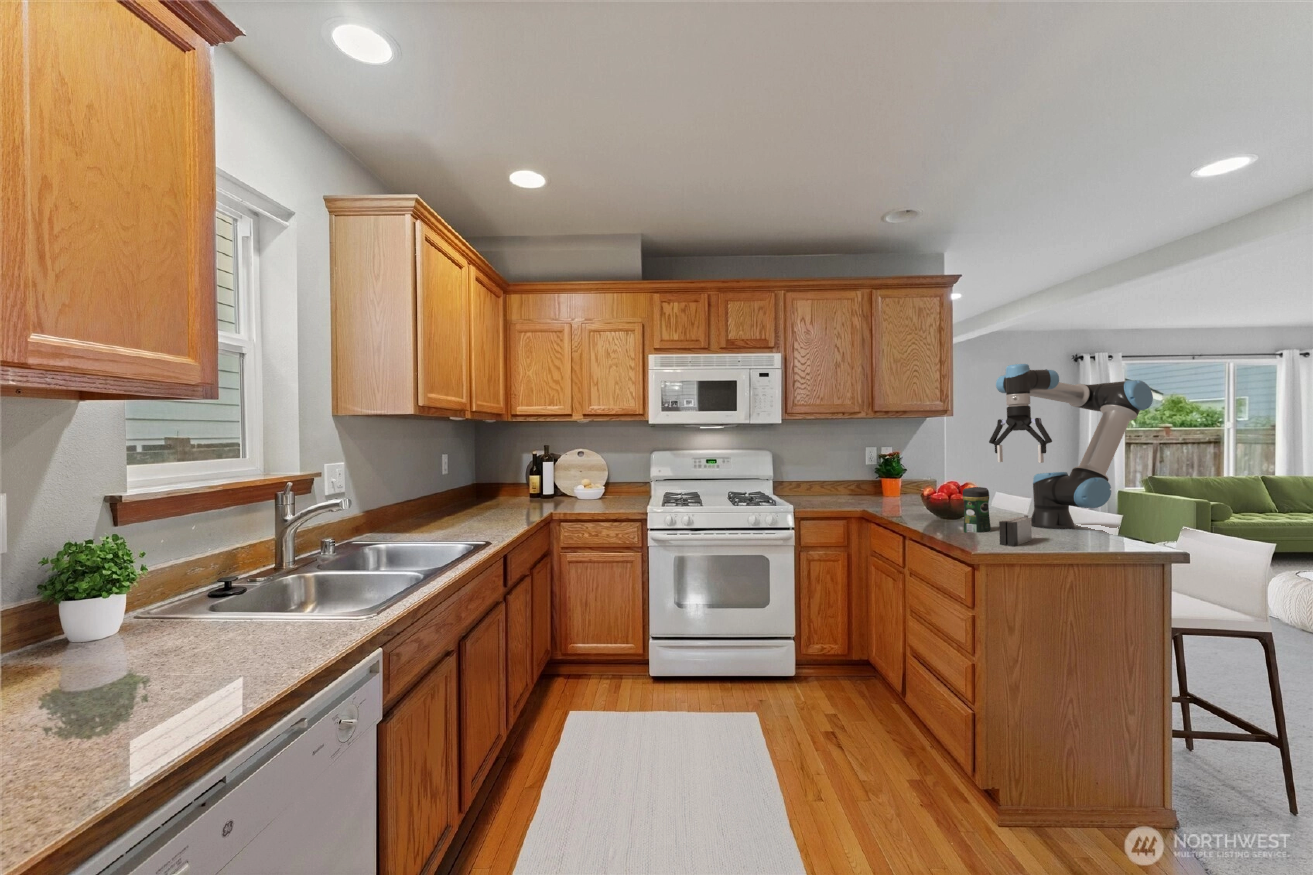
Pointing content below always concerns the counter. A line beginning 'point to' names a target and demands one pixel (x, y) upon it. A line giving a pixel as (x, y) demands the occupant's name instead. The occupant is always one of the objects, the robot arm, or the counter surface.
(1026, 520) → the grey flat box
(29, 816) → the counter surface
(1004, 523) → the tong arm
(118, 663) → the counter surface
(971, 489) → the coffee jar
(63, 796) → the counter surface
